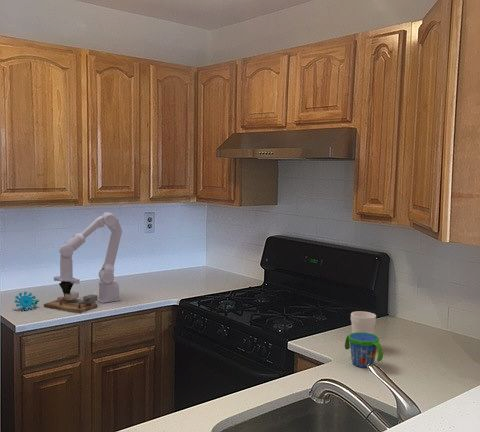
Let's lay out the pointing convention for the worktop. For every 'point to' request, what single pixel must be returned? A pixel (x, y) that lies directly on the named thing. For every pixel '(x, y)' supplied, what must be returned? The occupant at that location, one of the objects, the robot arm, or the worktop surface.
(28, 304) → the gear
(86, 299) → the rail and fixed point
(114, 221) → the robot arm
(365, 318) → the foam cup
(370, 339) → the snack cup
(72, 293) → the slider
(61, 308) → the hole board
